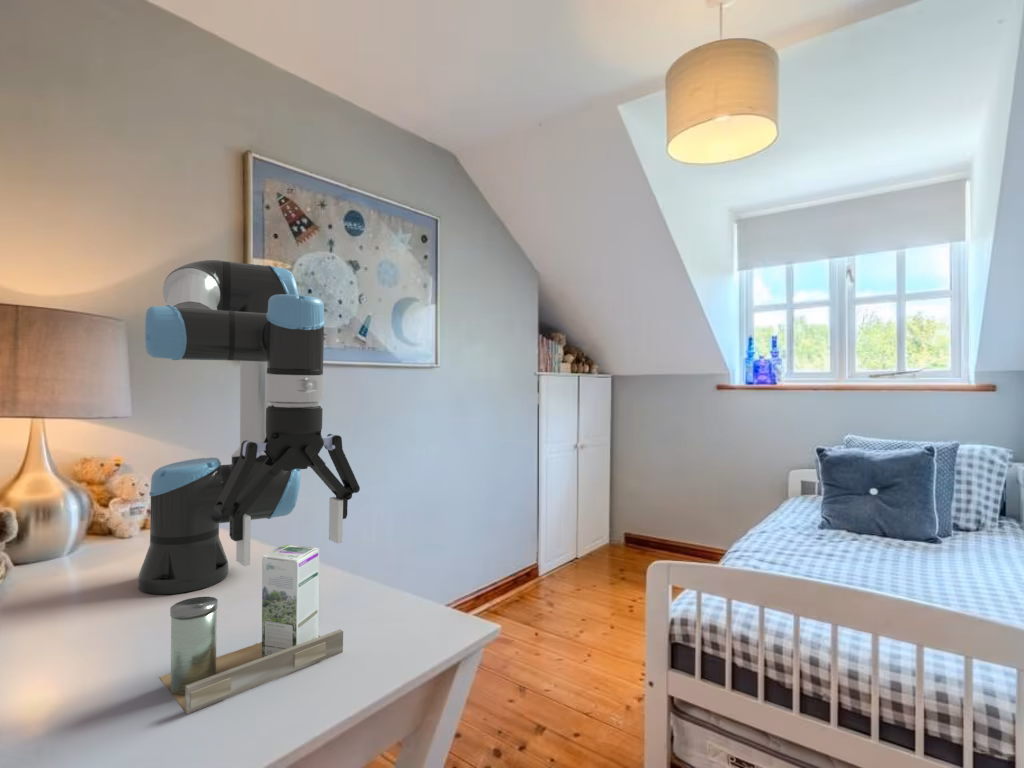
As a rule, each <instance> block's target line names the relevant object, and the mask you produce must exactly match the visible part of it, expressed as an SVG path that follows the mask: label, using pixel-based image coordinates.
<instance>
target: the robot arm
mask: <svg viewBox="0 0 1024 768" xmlns="http://www.w3.org/2000/svg"><path fill="white" fill-rule="evenodd" d="M162 294H163V299H164V301H165V303H166V305H152V306H149V307H148V308H147V309H146V312H145V318H144V319H145V320H144V321H145V322H144V342H145V343H144V344H145V350H146V351H145V352H146V353H147V354H148V356H150V357H152V358H156V359H168V360H170V359H171V360H172V361H179V360H182V361H183V360H185V361H187V360H189V361H191V360H193V361H233V362H234V361H237V362H238V361H239V374H240V375H239V446H238V448H237V449H236V450H235V451H234V452H233V453H232V455H231V463H230V464H229V463H228V464H221V463H222V462H221V461H220V458H218V457H201V458H191V459H187V460H182V461H177V462H173V463H169V464H166V465H163V466H161V467H159V468H157V469H156V470H154V472H153V473H152V475H151V482H150V491H149V494H148V495H149V496H150V521H149V522H150V523H149V524H150V525H149V526H150V528H149V530H150V531H149V538H150V539H149V546H148V549H147V552H146V555H145V558H144V560H143V562H142V565H141V568H140V570H139V573H138V583H137V584H138V589H139V590H140V591H141V592H144V593H147V594H152V595H153V594H154V595H171V594H172V595H173V594H182V593H188V592H193V591H196V590H197V591H198V590H201V589H204V588H208V587H211V586H213V585H216V584H217V583H220V582H222V581H224V579H226V578H227V576H228V575H229V560H228V558H227V556H226V553H225V552H226V551H225V549H224V547H223V544H222V541H221V539H220V524H223V523H224V524H225V523H229V533H228V534H229V537H230V540H232V541H234V542H235V543H236V544H235V545H236V548H235V549H236V550H235V552H236V554H235V555H236V556H235V558H236V559H235V561H236V562H237V563H239V564H240V565H241V566H243V567H247V566H250V565H251V529H252V527H251V526H252V525H251V524H252V523H251V522H252V521H253V520H262V519H268V520H271V519H273V518H278V517H284V516H288V515H290V514H291V513H292V512H293V511H294V509H295V507H296V505H297V502H298V497H299V494H300V487H301V476H302V475H301V473H302V472H301V470H306V469H308V468H310V469H312V471H313V472H314V473H315V474H316V475H317V477H319V479H320V480H321V481H322V482H323V483H324V484H325V486H327V487H328V489H329V490H330V491H331V492H332V493H333V494H334V495H335V496H332V497H329V502H328V503H329V507H328V509H329V512H328V513H329V514H328V516H329V517H328V540H329V541H332V542H334V543H336V544H343V528H344V527H343V525H344V523H343V522H344V520H345V519H347V517H348V507H349V506H348V501H349V500H351V499H352V498H353V494H358V493H359V492H360V489H361V487H360V485H359V483H358V480H357V478H356V476H355V474H354V471H353V470H352V466H351V465H350V463H349V460H348V458H347V455H346V453H345V452H344V449H343V439H342V436H340V435H338V434H333V433H328V434H327V435H326V436H324V437H323V436H322V431H323V407H322V406H321V405H319V403H321V402H322V401H323V399H324V398H323V396H324V395H323V392H324V375H323V374H324V345H325V344H324V341H325V325H326V319H325V307H324V306H325V305H324V303H323V301H322V299H320V298H318V297H315V296H310V295H301V294H299V292H298V286H297V282H296V279H295V276H294V274H293V273H292V272H291V271H290V270H289V269H287V268H283V267H277V266H273V265H270V264H268V265H263V264H262V265H261V264H254V263H253V264H252V263H245V262H244V263H243V262H234V261H225V260H219V259H207V260H199V261H194V262H190V263H187V264H184V265H183V264H182V266H179V267H177V268H175V269H174V270H173V271H171V272H170V273H168V275H167V276H166V278H165V279H164V282H163V287H162ZM323 447H324V449H325V450H327V452H328V455H329V457H330V460H331V461H332V463H333V465H334V467H335V470H336V473H337V474H338V476H339V479H340V480H339V479H338V478H337V476H335V474H334V473H333V472H332V470H331V469H330V468H329V467H328V466H327V465H326V462H325V461H324V460H323V458H322V457H321V456H320V455H319V454H320V452H321V451H322V449H323ZM149 496H148V497H149Z"/></svg>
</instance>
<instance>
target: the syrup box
mask: <svg viewBox="0 0 1024 768" xmlns="http://www.w3.org/2000/svg"><path fill="white" fill-rule="evenodd" d="M261 557H262V560H261V561H262V563H261V567H262V568H261V569H262V570H261V571H262V572H261V573H262V575H261V576H262V577H261V585H262V586H261V592H262V594H261V642H262V657H265V656H268V655H271V654H274V653H276V652H279V651H282V650H285V649H287V648H290V647H293V646H296V645H298V644H301V643H304V642H307V641H309V640H312V639H315V638H318V635H319V591H320V590H319V589H320V588H319V587H320V548H319V547H312V546H301V545H292V544H291V545H289V544H285V545H282V546H279V547H276V548H274V549H273V550H271V551H269V552H268V553H266V554H264V555H263V556H261Z"/></svg>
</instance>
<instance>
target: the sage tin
mask: <svg viewBox="0 0 1024 768" xmlns="http://www.w3.org/2000/svg"><path fill="white" fill-rule="evenodd" d="M218 607H219V605H218V599H217V598H216V597H214V596H198V597H197V596H196V597H191V598H187V599H184V600H180V601H178V602H175V603H174V604H172V605H171V606H170V612H169V613H170V617H171V618H170V620H171V621H170V673H171V692H172V693H173V694H176V695H185V686H186V685H188V684H191V683H194V682H197V681H199V680H202V679H205V678H208V677H210V676H213V675H216V658H217V626H218V625H217V623H218V622H217V621H218V620H217V619H218V618H217V615H218V614H217V613H218V610H217V609H218ZM171 692H170V693H171ZM172 693H171V694H172Z"/></svg>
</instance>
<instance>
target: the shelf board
mask: <svg viewBox="0 0 1024 768" xmlns="http://www.w3.org/2000/svg"><path fill="white" fill-rule="evenodd" d="M343 652H344V630H342V629H337V630H335V631H331V632H330V633H329V632H328V633H326V634H322V635H321V636H320V635H319V634H318V638H315V639H312V640H309V641H307V642H304V643H301V644H298V645H296V646H293V647H290V648H287V649H285V650H282V651H279V652H276V653H274V654H271V655H268V656H265V657H262V641H259V642H258V643H255V644H252V645H248V646H247V647H243V648H239V649H238V650H234V651H231V652H229V653H226V654H223V655H219V656H216V675H213V676H210V677H208V678H205V679H202V680H199V681H197V682H194V683H191V684H188V685H186V686H185V695H176V694H173V693H172V692H171V672H170V673H168V674H164V675H161V676H159V679H160V681H162V683H163V684H164V685H165V687H166V688H167V689H168V691H169V692H170V694H171V695H172V696H173V697H174V699H175V700H176V701H177V703H178V704H179V706H180V707H181V708H182V710H183V711H184V712H185V713H186V715H189V714H192V713H195V712H197V711H199V710H202V709H204V708H207V707H209V706H212V705H214V704H216V703H219V702H222V701H224V700H226V699H230V698H231V697H234V696H237V695H240V694H242V693H244V692H247V691H249V690H252V689H254V688H257V687H259V686H262V685H264V684H266V683H270V682H272V681H275V680H277V679H280V678H281V677H284V676H286V675H287V676H288V675H290V674H292V673H294V672H297V671H299V670H302V669H304V668H307V667H309V666H312V665H314V664H317V663H319V662H322V661H324V660H327V659H329V658H331V657H335V656H337V655H340V654H341V653H343Z"/></svg>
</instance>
